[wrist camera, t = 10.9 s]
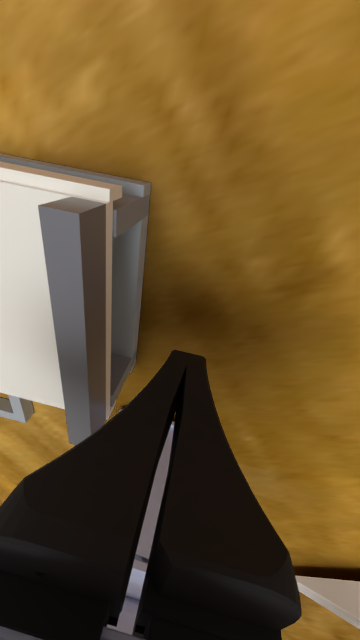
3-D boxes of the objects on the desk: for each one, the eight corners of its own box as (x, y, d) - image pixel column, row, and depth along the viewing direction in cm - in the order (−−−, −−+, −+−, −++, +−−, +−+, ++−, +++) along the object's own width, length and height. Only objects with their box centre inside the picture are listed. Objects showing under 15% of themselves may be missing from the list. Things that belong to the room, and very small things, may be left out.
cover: (115, 403, 17) (91, 453, 14) (-29, 366, 17) (-80, 407, 14) (122, 185, 10) (78, 198, 7) (-117, 137, 10) (-244, 132, 8)
